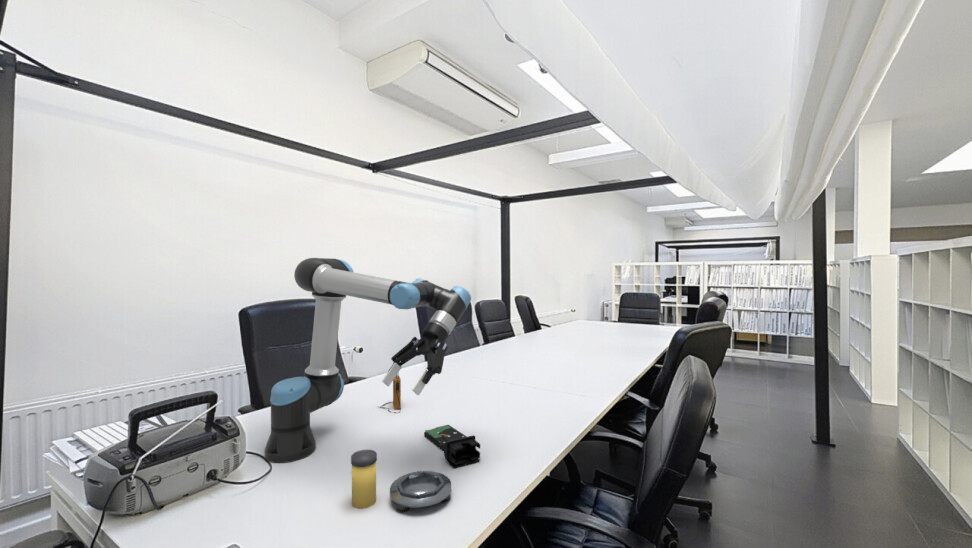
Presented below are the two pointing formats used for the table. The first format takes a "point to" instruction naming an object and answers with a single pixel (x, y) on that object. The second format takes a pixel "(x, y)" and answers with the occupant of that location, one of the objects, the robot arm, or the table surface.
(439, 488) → the grey round dish
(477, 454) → the end cap
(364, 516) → the table surface
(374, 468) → the capped yellow cylinder
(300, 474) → the table surface
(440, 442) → the disk drive
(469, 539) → the table surface
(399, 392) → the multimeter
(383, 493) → the table surface
